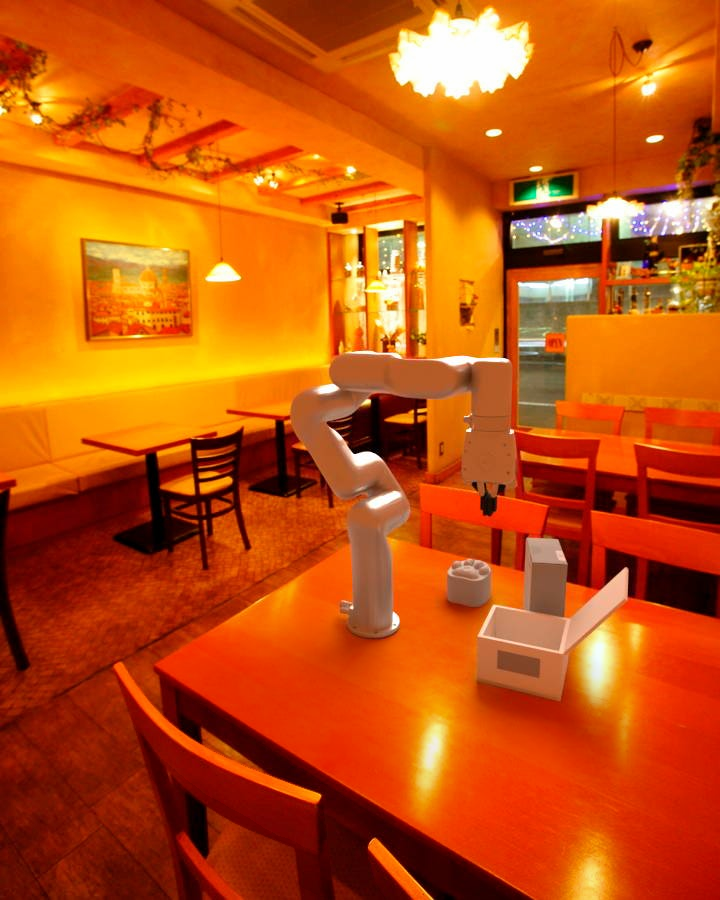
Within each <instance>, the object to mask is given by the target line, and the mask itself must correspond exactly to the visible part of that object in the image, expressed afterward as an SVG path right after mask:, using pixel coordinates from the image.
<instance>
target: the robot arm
mask: <svg viewBox="0 0 720 900" xmlns="http://www.w3.org/2000/svg"><path fill="white" fill-rule="evenodd" d="M513 373H514V372H513V364H512V361H511V360H510V359H507V358H502V357H485V358H477V357H472V356H466V355H459V356H457V355H456V356H449V357H443V358H435V359H434V358H433V359H430V358H429V359H425V358H421V359H420V358H419V359H416V358H414V359H413V358H403V357H401V355H399V354H398V353H394V352H375V351H370V350H363V351H354V352H353V351H352V352H350V351H349V352H344V353H342V354H340V355H339V354H338V356H336V357H335V358H334V359H333V360H332V361H331V363H330V365H329V367H328V376H329V378H330V381H331V382H332V383H331V384H323V385H317V386H313V387H308V388H306V389H304V390H301V391H300V392H299V393H297V394H296V395H295V397H294V398H293V400H292V402H291V405H290V410H289V411H290V413H289V418H290V424H291V427H292V430H293V432H294V434H295V435H296V437H297V439H298V440H299V441H300V443H301V444H302V445H303V446H304V447H305V449H306V450H307V451H308V453H309V455H310V456H311V458H312V459H313V461H314V463H315V465H316V467H317V468H318V470H319V472H320V473H321V475H322V476H323V478H324V480H325V481H326V483H327V485H328V486H329V488H330V489H331V491H332V492H333V493H334V495H335V496H336V497H337V498H339V499H341V500H351V499H353V498H356V497H359V496H361V495H363V494H365V495H366V496H367V497H365V498H362V499H361V500H358V501H357V502H356V503H355V504H353V505H352V506H351V507H350V509H349V510H348V512H347V514H346V519H345V522H346V524H345V525H346V530H347V534H348V539H349V544H350V554H351V574H352V575H351V576H352V577H351V581H352V602H350V601H346V600H340V602H339V613H340V614H344V615H345V614H346V615H348V618H347V623H346V625H347V626H346V627H347V629H348V630H349V631H350V632H351V633H352V634H354V635H356V636H358V637H362V638H365V639H378V638H384V637H388V636H390V635H393V634H394V633H395V632H397V631H398V630H399V629H400V626H401V625H400V624H401V623H400V622H401V621H400V617H399V616H398V615H397V613H395V612H394V581H393V580H394V579H393V578H394V577H393V574H394V573H393V572H394V571H393V552H392V548H391V546H390V543H389V541H388V537H387V536H388V534H389V533H391V532H392V531H394V530H395V529H397V528H399V527H401V526H402V525H404V524H405V523H406V522H407V520H408V519H409V518H410V515H411V514H410V513H411V506H410V502H409V500H408V496H407V495H406V494H405V492H404V491H403V489H402V487H401V485H400V484H399V482H398V481H397V479H396V477H395V475H394V474H393V473H392V471H391V470H390V468H389V467H388V465H387V463H386V462H385V461H384V460H383V459H382V458H381V457H380V456H379V455H377V454H376V453H373V452H371V451H361V452H359V453H356V454H355V453H353V452H352V450H351V449H350V448H349V446H348V445H347V443H346V441H345V439H344V438H343V437H342V436H341V435H340V434H339V432H337V431H336V430H335V429H334V428H331V427H330V426H329V424H327V422H329V421H334V420H339V419H343V418H346V417H348V416H350V415H352V414H354V413H355V412H356V411H357V410H358V409H359V408H360V407H361V405H363V404H364V402H366V401H367V400H368V399H369V397H370V396H371V395H372V394H373V393H374V394H376V393H378V394H390V395H393V396H397V397H398V396H399V397H403V398H407V399H408V398H410V399H423V400H425V399H426V400H444V399H448V398H451V397H455V396H460V395H464V394H471V395H470V396H471V397H470V413H469V415H468V416H465V415H464V416H463V419H462V420H463V424H468V425H469V429H466V430H465V435H464V438H463V439H464V440H463V447H462V456H461V468H460V469H461V472H460V473H461V477H462V479H461V483H462V484H464V485H467V486H470V487H472V488H473V489H474V490H475V491H476V493H478V496H480V504H479V505H480V506H479V510H480V511H482V516H483V517H486V516H487V517H489V518H491V517H492V516H493V514H494V513H496V512H497V509H498V496H499V494H501V493H502V492H503V491H505V490H512V489H513V490H514V489H516V488H517V487H518V480H517V474H518V473H517V472H518V455H517V451H518V450H517V443H516V435H515V431H514V430H513V429H511V428H512V426H511V425H512V403H513V402H512V397H513V395H512V394H513ZM488 484H491V490H490V492H489V489H488Z"/></svg>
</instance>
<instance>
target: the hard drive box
mask: <svg viewBox="0 0 720 900" xmlns="http://www.w3.org/2000/svg"><path fill="white" fill-rule="evenodd" d="M568 565H569V564H568V562H567V559H566V556H565V554H564V552H563V549H562V546H561V543H560V541H559V539H557V538H545V537H544V538H542V537H541V538H540V537H526V539H525V559H524V580H523V602H522V603H523V604H522V608H523V609H522V610H526V611H531V612H537V613H542V614H547V615H553V616H558V617H564V618H565V609H566V596H567V595H566V593H567V577H568Z"/></svg>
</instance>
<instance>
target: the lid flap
mask: <svg viewBox="0 0 720 900" xmlns="http://www.w3.org/2000/svg"><path fill="white" fill-rule="evenodd" d="M628 586H629V568H628V567H626V566H625V567H624V568H623V569H621V571H620V572H619V573H617V574H616V575H615V576H614V577H613V578H612V579H611V580H610V581H609V582H608V583H606V585H604V586H603V588H601V589H600V590H599V591H598V592H597V593H596V594H595V595H594V596H593V597H591V598H590V600H588V601H587V602H586V603H585V604H584V605H583V606H582V607H581V608H580V609H578V611H577V612H575V613H574V614H573V615H572V616H571V617H570V619H571V620H570V624H569V629H568V633H567V638H566V643H565V647H564V652H563V654H565V655H567V654H568V653H569V654H570V653H571V652H572V651H574V649H575V648H576V647H577V646H578V645H580V643H582V642H583V641H584V640H585V639H586V638H588V636H590V635H591V634H592V633H593V632H594V631H596V629H598V628H599V627H600V626H601V625H602V624H603V623H604V622H606V621H607V620H608V619H609V618H610V617H611V616H612V615H613V614H614V613H616V611H618V610H619V609H620V608H621V607H622V606H623V605H624V604H625V603H627V602H628V596H629V595H628V593H629V591H628V589H629V587H628Z"/></svg>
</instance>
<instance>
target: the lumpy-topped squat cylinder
mask: <svg viewBox="0 0 720 900" xmlns="http://www.w3.org/2000/svg"><path fill="white" fill-rule="evenodd" d="M491 591H492V569H491V567H490V565H488V563H486V562H485V561H482V560H479V559H478V560H477V559H473V558H467V559H466V560H461V561H459V560H455V561H453V562H452V564H451V566H450V567H449V569H448V570H447V572H446V599H447V600H448V602H449V603H453V604H459V605H463V606H466V607H471V608H477V607H482V606H483V605H485V604H486V603H487V602H488V601H489V600H490V597H491V595H492V593H491Z"/></svg>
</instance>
